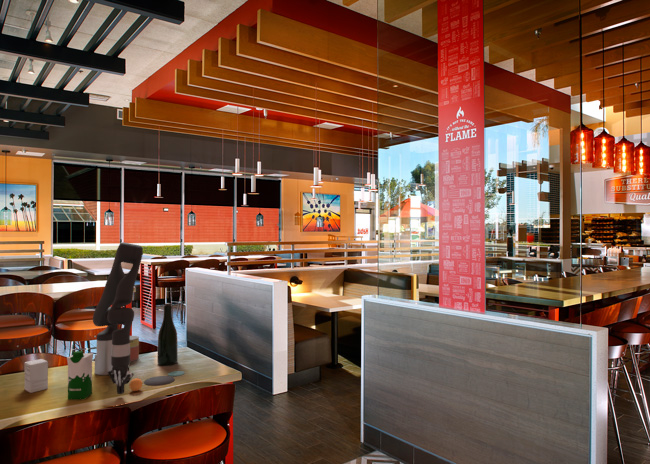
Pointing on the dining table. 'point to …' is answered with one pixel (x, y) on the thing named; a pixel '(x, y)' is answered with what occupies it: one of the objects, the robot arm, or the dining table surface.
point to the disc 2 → (176, 373)
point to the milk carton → (79, 375)
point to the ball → (135, 384)
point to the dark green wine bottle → (167, 339)
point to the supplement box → (36, 375)
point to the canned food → (134, 348)
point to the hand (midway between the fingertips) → (120, 393)
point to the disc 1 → (159, 380)
